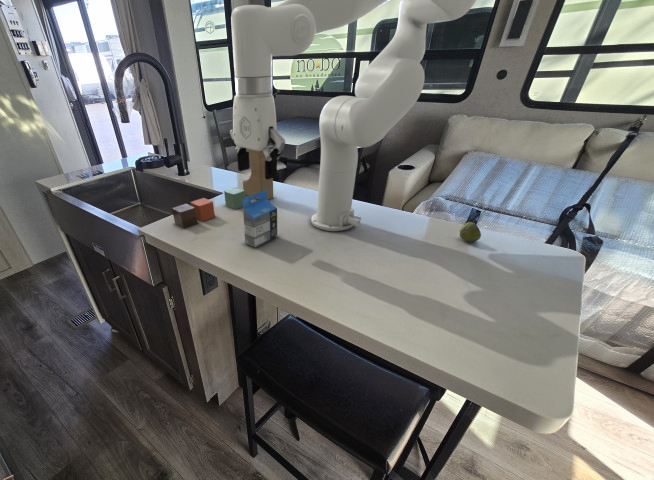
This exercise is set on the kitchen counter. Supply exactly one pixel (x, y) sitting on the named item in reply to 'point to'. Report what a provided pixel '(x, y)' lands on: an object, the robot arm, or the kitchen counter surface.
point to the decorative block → (258, 175)
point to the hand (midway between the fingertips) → (257, 173)
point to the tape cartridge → (259, 219)
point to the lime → (470, 232)
